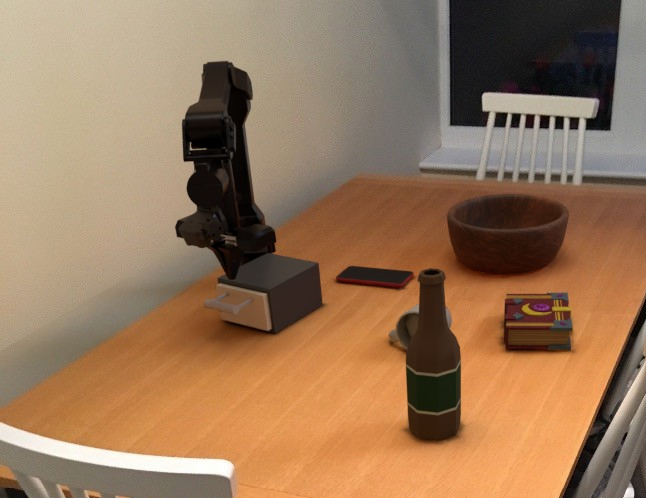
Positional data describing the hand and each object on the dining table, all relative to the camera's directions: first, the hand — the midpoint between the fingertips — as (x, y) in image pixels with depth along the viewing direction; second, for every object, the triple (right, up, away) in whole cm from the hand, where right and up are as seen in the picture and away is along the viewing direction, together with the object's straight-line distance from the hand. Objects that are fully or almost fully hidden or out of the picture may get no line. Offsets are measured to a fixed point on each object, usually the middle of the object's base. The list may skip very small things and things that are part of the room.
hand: (232, 279), depth 149 cm
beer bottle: (+35, -28, -26) cm, 52 cm away
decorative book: (+54, -10, -1) cm, 55 cm away
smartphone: (+25, +6, +24) cm, 35 cm away
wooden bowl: (+53, +11, +30) cm, 62 cm away
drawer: (+3, -5, +9) cm, 11 cm away
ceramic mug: (+33, -12, -2) cm, 35 cm away
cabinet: (+6, -4, +12) cm, 14 cm away
